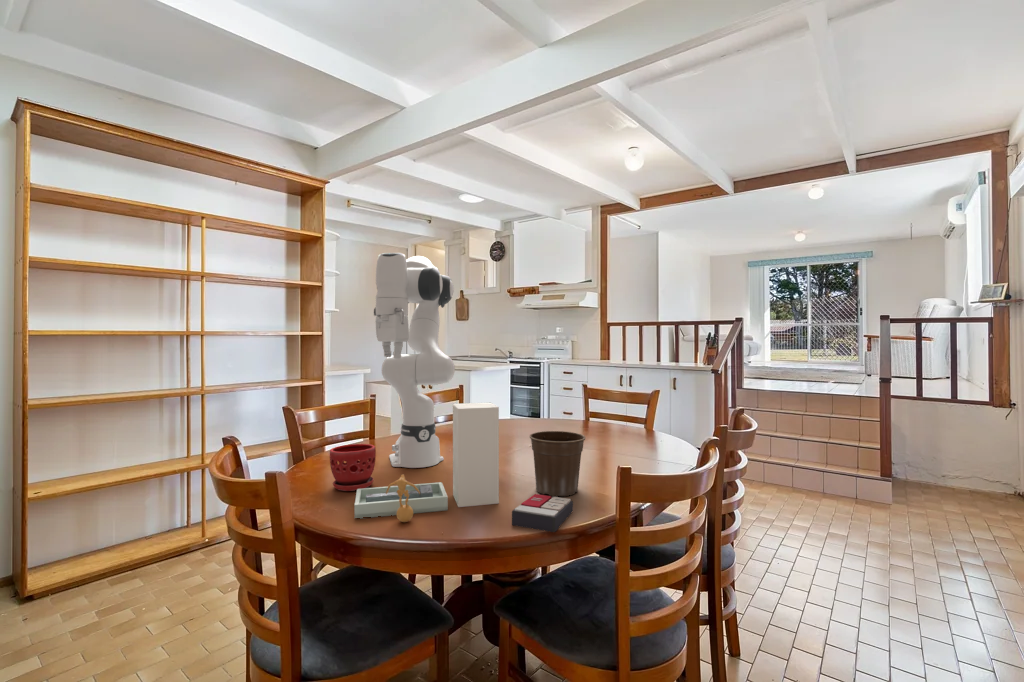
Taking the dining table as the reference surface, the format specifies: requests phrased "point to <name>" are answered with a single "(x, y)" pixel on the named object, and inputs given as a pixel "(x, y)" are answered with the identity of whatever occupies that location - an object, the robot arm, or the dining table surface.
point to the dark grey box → (542, 512)
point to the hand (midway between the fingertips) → (392, 357)
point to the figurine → (404, 510)
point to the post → (475, 454)
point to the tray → (390, 507)
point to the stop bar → (423, 489)
